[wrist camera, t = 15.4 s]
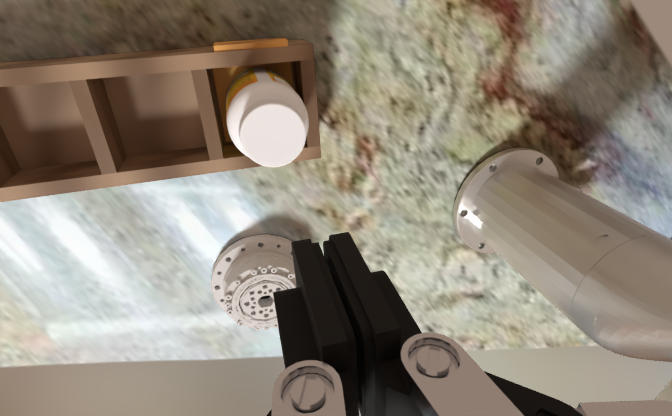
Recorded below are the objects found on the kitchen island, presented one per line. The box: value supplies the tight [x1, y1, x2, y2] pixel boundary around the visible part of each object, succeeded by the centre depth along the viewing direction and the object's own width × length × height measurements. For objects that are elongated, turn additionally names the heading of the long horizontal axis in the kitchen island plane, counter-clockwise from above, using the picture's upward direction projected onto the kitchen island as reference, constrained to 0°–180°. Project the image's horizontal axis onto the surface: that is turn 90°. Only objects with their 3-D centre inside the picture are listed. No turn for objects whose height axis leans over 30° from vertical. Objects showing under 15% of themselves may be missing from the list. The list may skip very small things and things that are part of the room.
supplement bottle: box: [226, 67, 309, 167], centre depth 28 cm, size 5×5×10 cm
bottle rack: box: [0, 37, 321, 202], centre depth 30 cm, size 24×9×4 cm, turn 93°
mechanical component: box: [211, 234, 297, 330], centre depth 39 cm, size 10×4×10 cm
